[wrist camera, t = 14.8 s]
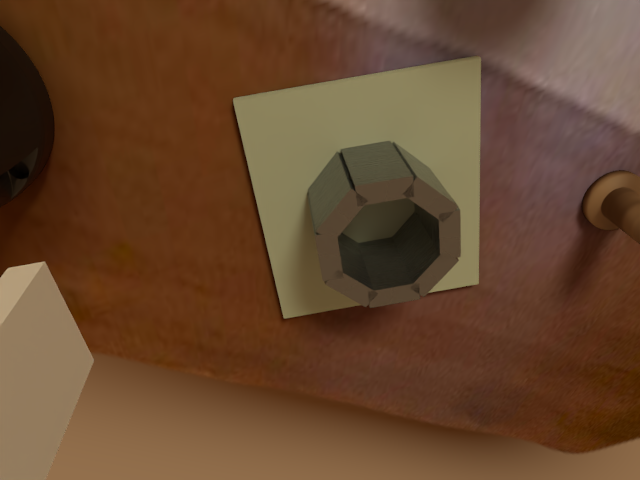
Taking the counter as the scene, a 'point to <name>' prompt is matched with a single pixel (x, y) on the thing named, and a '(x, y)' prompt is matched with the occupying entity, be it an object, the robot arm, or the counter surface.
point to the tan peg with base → (614, 203)
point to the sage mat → (355, 130)
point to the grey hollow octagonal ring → (388, 253)
